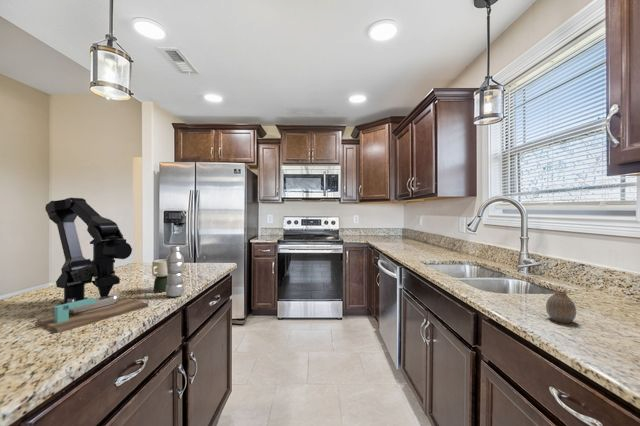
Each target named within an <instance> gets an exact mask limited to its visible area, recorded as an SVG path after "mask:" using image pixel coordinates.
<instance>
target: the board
mask: <svg viewBox="0 0 640 426" xmlns="http://www.w3.org/2000/svg"><path fill="white" fill-rule="evenodd" d="M148 307H149V303H148V302H143V301H140V300H137V299H133V298H130V297H129V298H128V297H123V298H118V302H117V303H114V304H110V305H106V306H102V307H98V308H94V309H90V310H86V311H82V312H78V313H74V314H69V320H67V321H63V322H60V323H56V322H54V314H53V315H49V316H45V317H42V318H41V317H40V318H37V319H36V323H37V324H39V325H41V326H43V327H45V328H47V329H49V330H51V331H53V332H54V333H56V334H58V333H62V332H66V331H69V330H73V329H76V328H79V327H83V326H87V325H90V324H93V323H97V322H99V321H103V320H107V319H110V318H113V317H117V316H121V315H123V314H128V313H130V312H134V311H137V310H141V309H144V308H145V309H146V308H148Z"/></svg>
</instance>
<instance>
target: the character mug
mask: <svg viewBox="0 0 640 426" xmlns="http://www.w3.org/2000/svg"><path fill="white" fill-rule="evenodd" d="M151 274H152V276H153V277H155V278H154V283H153V291H154V292H159V293H160V292H161V291H162V292H163V291H165V292H166V286H167V277H168V276H167V274H168V273H167V266H166V258H165V259H156V260H152V266H151Z"/></svg>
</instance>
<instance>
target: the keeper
mask: <svg viewBox="0 0 640 426" xmlns="http://www.w3.org/2000/svg"><path fill="white" fill-rule="evenodd" d="M92 303H96V299H95V298H94V297H89V298H88V299H84V300H80V301H75V302H71V303H66V304H63V303H61V304H58V305H55V306H53V315H54V322H56V323H60V322H63V321H67V320H69V309H71V308H75V307H79V306H84V305H88V304H92Z"/></svg>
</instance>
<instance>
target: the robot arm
mask: <svg viewBox="0 0 640 426" xmlns="http://www.w3.org/2000/svg"><path fill="white" fill-rule="evenodd" d="M44 208H45V209H44V210H45V212H46V213H47V215H48V218H49V220H50V221H52V222H53V223H54V224H56V227H57V231H58V234H59V235H58V236H59V239H60V244H61V248H62V251H63V256H64V259H65V260H64V263H63V265H62V266H61V274H60V275H59V276H58V278H57V279H56V280H55V285H56V288H59V289H63V300H60V301H59V304H66V303H67V299H69V298H76V301H80V300H84V299H89V298H88V297H85V295H86V293H85V292H86V291H85V286H86V284H91V283H92V284H93V285H94V286H95V287H96V288H97V289H98V293H99V297H104V296H108V295H109V294H110V292H111V291H112V288H113V287H114V285H119V284H121V281H120V280H121V278H120V276H118V275H116V270H115V269H114V268H115V263H116V259H118V260H125V259H128V258H129V257H130V256H131V254H132V251H133V248H132V245H130V243H129V242H127V239H126V238H124V235H123V233H122V232H121V230H120V228H119V226H118V224H117V222H115V221H113V219H112V220H111V219H109V218H106V217H104V216H101V215H100V214H99V213H98V212H97V211H96V210H95V209H94V208H93V207H92V206H91V205H89V204H88V203H87V200H86V199H85V198H83V197H68V198H64V199H59V200H50V201H49V202H48V203H46V204H45V207H44ZM77 217H79V219H80V220H81V221H82V222H84V223H85V224H86V226H87V228H86V231H87V233H88V234H89V235H90V237H91V238H92V240H91V241H90V242H89V244H90V245H92V246H93V248H92V249H93V254H92V255H93V256H92V260H91V258H85V256H83V253H82V252H83V251H82V247H81V244H80V239H79V236H78V232H77V227H76V224H75V220H76V219H77ZM93 278H94V280H93Z"/></svg>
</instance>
